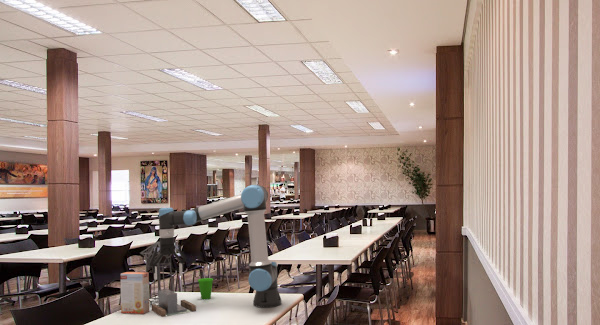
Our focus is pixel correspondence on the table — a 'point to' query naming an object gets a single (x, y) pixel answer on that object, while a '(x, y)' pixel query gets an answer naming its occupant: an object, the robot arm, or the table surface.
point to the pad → (178, 313)
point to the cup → (205, 287)
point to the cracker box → (135, 292)
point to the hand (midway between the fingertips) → (168, 277)
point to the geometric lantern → (157, 268)
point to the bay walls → (184, 304)
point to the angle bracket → (169, 302)
